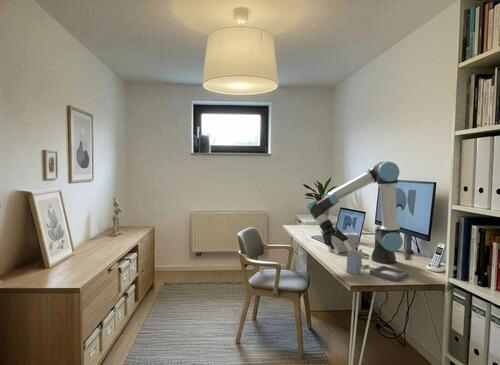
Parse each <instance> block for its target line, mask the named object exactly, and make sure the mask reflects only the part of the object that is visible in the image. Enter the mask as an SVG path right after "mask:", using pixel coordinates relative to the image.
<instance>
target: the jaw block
mask: <svg viewBox="0 0 500 365" xmlns="http://www.w3.org/2000/svg"><path fill="white" fill-rule="evenodd" d="M346 253H347V256H346V273H349V274H351V275H354V276H356V275H360V274H361V273H362V265H361V252H359V251H357V250H352V251H348V252H346Z"/></svg>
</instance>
